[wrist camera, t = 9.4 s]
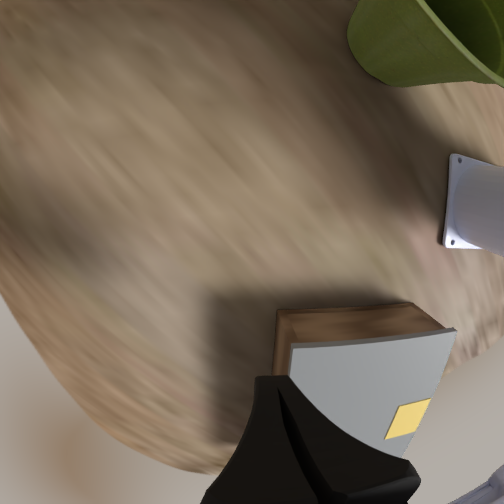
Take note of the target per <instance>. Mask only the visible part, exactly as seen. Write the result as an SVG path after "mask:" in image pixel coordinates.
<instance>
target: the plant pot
mask: <svg viewBox="0 0 504 504" xmlns="http://www.w3.org/2000/svg"><path fill="white" fill-rule="evenodd" d="M347 40H348V44H349V47H350V49H351V52H352V54H353V55H354V57H355V59H356V60H357V61H358V63H359V64H360V65H361V66H362V67H363V69H364V70H365V71H367V72H368V73H369V74H370V75H372V76H374V77H376V78H378V79H379V80H381V81H382V82H384V83H385V84H387V85H390V86H394V87H411V86H419V85H428V84H437V83H449V82H464V81H474V82H477V83H483V84H497V85H499V86H501V87H502V88H504V0H359V2H358V4H357V6H356V8H355V10H354V12H353V14H352V16H351V19H350V21H349V24H348V28H347Z"/></svg>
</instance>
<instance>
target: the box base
mask: <svg viewBox="0 0 504 504" xmlns="http://www.w3.org/2000/svg"><path fill="white" fill-rule="evenodd" d="M440 329H446V328H445V327H444V326H442V325H441V324H440V323H438V322H437V321H436V320H435V319H433V318H432V317H431V316H429V315H428V314H427V313H426V312H424V311H423V310H422V309H420V308H419V307H418V306H416V305H415V304H414V303H403V304H390V305H376V306H360V307H342V308H319V309H286V310H277V316H276V329H275V342H274V354H273V366H272V376H275V375H288V367H289V359H290V350H291V343H311V342H329V341H343V340H356V339H367V338H377V337H387V336H396V335H404V334H412V333H420V332H427V331H433V330H440Z"/></svg>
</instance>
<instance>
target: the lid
mask: <svg viewBox="0 0 504 504" xmlns="http://www.w3.org/2000/svg"><path fill="white" fill-rule="evenodd" d="M456 334H457V330H456V329H454V328H453V327H452V328H446V329H440V330H433V331H427V332H420V333H412V334H404V335H396V336H387V337H377V338H367V339H356V340H343V341H329V342H311V343H291V350H290V359H289V367H288V376H289V377H290V378H291V379H292V380H293V382H294V383H295V384H296V386H297V387H298V388H299V389H300V390H301V392H302V393H303V394H304V395H305V396H306V397H307V398H308V399H309V401H310V402H311V403H312V404H313V405H314V406H315V407H316V408H317V409H318V410H319V411H320V412H321V413H322V414H324V415H325V416H326V417H327V418H328V419H329V420H330V421H332V422H333V423H334V424H335V425H337V426H338V427H339V428H341V429H342V430H343V431H345V432H346V433H348V434H349V435H351V436H352V437H354V438H356V439H358V440H360V441H361V442H363V443H365V444H367V445H369V446H371V447H373V448H375V449H377V450H380V451H382V452H384V453H387V454H390V455H393V456H396V457H399V458H401V457H402V455H403V454H404V452H405V450H406V449H407V447H408V445H409V443H410V442H411V440H412V438H413V436H414V434H415V432H416V430H417V428H418V426H419V425H420V423H421V421H422V419H423V416H424V414H425V412H426V410H427V408H428V406H429V404H430V401H431V399H432V397H433V395H434V392H435V390H436V388H437V385H438V383H439V381H440V378H441V376H442V373H443V371H444V368H445V366H446V363H447V360H448V357H449V355H450V352H451V349H452V346H453V343H454V340H455V337H456Z"/></svg>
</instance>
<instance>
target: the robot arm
mask: <svg viewBox="0 0 504 504" xmlns="http://www.w3.org/2000/svg"><path fill="white" fill-rule="evenodd" d="M458 159H459V162H458ZM451 241H452V243H451ZM443 246H444V247H446V248H465V249H485V250H488V251H490V252H493V253H495V254H498V255H500V256H503V257H504V167H502V166H495V165H492V164H489V163H486V162H482V161H479V160H476V159H473V158H469V157H466V156H463V155H459V154H451V155H450V162H449V184H448V198H447V209H446V218H445V227H444V235H443ZM420 483H421V478H420V477H419V475H418V473H417V471H416V470H415V468H414V467H413V465H412V464H411V463H410V461H409V460H406V459H402V458H399V457H396V456H393V455H390V454H387V453H384V452H382V451H380V450H377V449H375V448H373V447H371V446H369V445H367V444H365V443H363V442H361V441H360V440H358V439H356V438H354V437H352V436H351V435H349V434H348V433H346V432H345V431H343V430H342V429H341V428H339V427H338V426H337V425H335V424H334V423H333V422H332V421H330V420H329V419H328V418H327V417H326V416H325V415H324V414H322V413H321V412H320V411H319V410H318V409H317V408H316V407H315V406H314V405H313V404H312V403H311V402H310V401H309V399H308V398H307V397H306V396H305V395H304V394H303V393H302V392H301V390H300V389H299V388H298V387H297V386H296V384H295V383H294V382H293V380H292V379H291V378H290V377H289V376H288V375H275V376H257V377H256V378H255V386H254V403H253V408H252V412H251V415H250V418H249V421H248V424H247V426H246V429H245V431H244V434H243V436H242V438H241V440H240V442H239V444H238V446H237V448H236V450H235V452H234V454H233V455H232V457H231V459H230V460H229V462H228V463H227V465H226V466H225V468H224V469H223V470H222V472H221V473H220V475H219V476H218V477H217V478H216V480H215V481H214V482H213V483H212V484H211V486H210V487H209V488H208V489H207V490H206V492H205V495H204V497H203V499H202V501H201V503H200V504H408V503H407V501H408V500H409V499H410V497H411V496H412V495H413V494H414V493H415V491H416V490H417V489H418V487H419V485H420ZM448 504H504V465H502V466H501V467H500V468H499V469H497V470H496V471H495V472H494V473H493V474H492V476H491V477H490V478H489V479H488V481H486V482H485V483H483V484H482V485H480V486H478V487H477V488H475V489H474V490H472V491H470V492H469V493H467V494H465V495H463V496H461V497H460V498H458V499H456V500H454V501H452V502H450V503H448Z"/></svg>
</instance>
